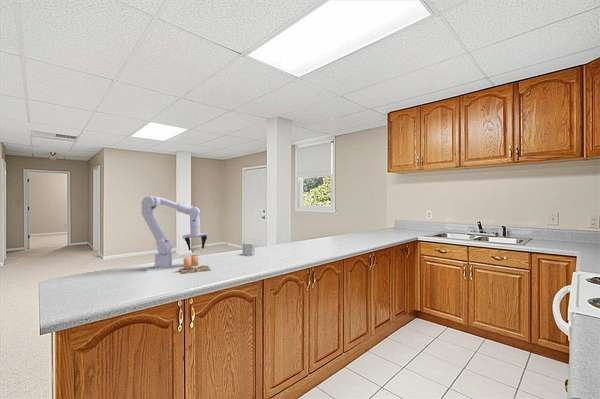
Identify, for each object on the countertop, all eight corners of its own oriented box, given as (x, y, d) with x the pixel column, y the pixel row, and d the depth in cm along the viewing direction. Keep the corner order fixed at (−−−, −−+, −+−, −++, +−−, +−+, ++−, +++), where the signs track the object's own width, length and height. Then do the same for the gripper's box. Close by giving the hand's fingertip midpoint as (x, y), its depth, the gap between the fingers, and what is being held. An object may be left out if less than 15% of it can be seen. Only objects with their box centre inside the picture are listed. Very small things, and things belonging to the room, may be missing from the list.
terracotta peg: (191, 268, 169) (191, 256, 169) (190, 266, 173) (190, 255, 173) (198, 267, 171) (198, 255, 171) (197, 265, 175) (197, 254, 174)
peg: (184, 271, 157) (183, 259, 157) (183, 270, 161) (183, 257, 161) (191, 271, 159) (191, 258, 159) (191, 269, 163) (190, 257, 162)
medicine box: (254, 254, 207) (254, 243, 207) (252, 256, 203) (251, 244, 203) (245, 254, 210) (245, 242, 210) (242, 255, 205) (242, 243, 205)
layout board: (180, 276, 153) (180, 272, 153) (179, 270, 163) (179, 267, 163) (211, 272, 160) (211, 268, 160) (208, 267, 171) (208, 264, 171)
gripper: (183, 228, 165) (184, 251, 165) (209, 226, 172) (210, 248, 173) (181, 227, 171) (182, 250, 171) (206, 225, 178) (207, 246, 179)
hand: (196, 249), depth 172 cm, fingers open, 7 cm apart
